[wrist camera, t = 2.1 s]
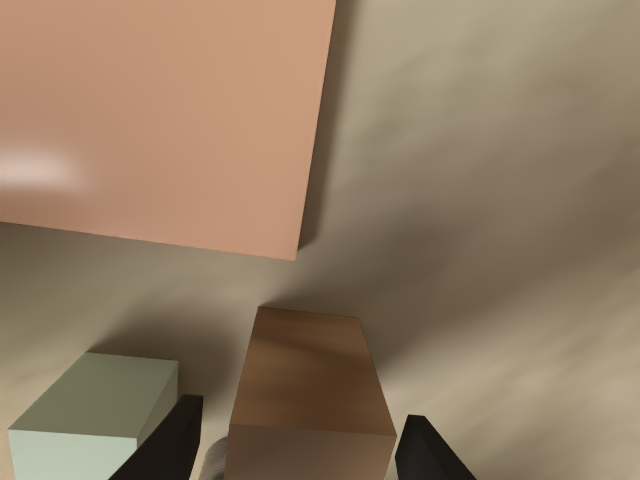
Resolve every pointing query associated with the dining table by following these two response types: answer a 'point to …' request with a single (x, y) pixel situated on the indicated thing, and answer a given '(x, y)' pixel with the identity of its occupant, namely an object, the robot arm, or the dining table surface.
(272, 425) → the walnut block
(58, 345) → the dining table surface
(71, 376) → the sage painted cube
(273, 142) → the terracotta tile
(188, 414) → the robot arm
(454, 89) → the dining table surface
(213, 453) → the grey metal cylinder
